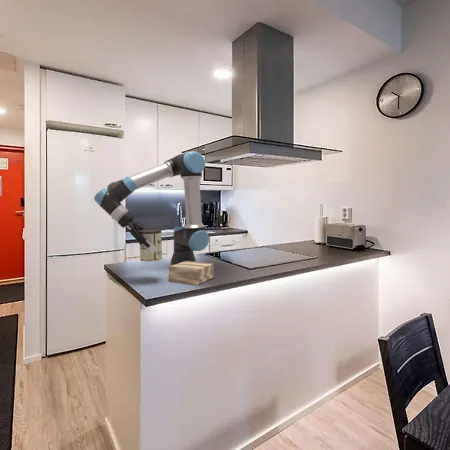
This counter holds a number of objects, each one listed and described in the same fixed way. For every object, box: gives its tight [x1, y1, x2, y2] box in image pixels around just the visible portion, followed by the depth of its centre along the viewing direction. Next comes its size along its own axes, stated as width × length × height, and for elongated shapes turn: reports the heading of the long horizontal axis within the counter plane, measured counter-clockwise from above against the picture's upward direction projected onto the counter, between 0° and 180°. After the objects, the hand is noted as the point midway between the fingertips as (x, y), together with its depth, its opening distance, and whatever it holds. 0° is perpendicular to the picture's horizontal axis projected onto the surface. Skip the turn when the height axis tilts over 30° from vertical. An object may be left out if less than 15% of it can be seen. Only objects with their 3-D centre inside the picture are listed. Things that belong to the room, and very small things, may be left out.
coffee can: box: [139, 228, 163, 263], centre depth 146 cm, size 10×10×14 cm
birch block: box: [168, 261, 215, 286], centre depth 150 cm, size 16×16×7 cm
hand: (157, 249), depth 146 cm, fingers closed on coffee can, 10 cm apart
